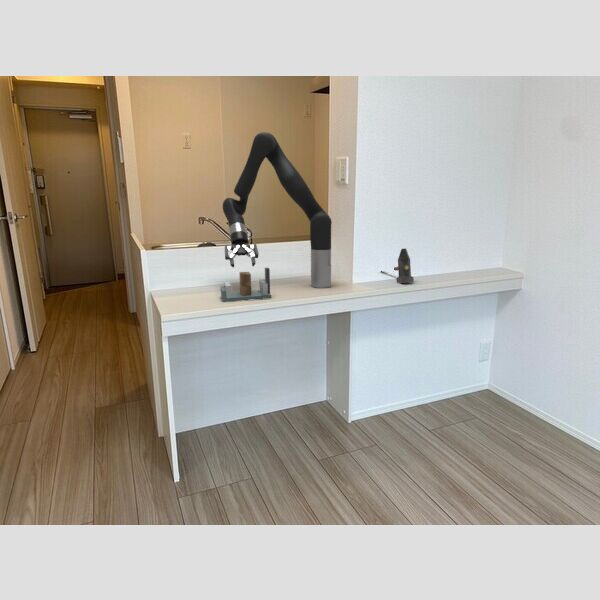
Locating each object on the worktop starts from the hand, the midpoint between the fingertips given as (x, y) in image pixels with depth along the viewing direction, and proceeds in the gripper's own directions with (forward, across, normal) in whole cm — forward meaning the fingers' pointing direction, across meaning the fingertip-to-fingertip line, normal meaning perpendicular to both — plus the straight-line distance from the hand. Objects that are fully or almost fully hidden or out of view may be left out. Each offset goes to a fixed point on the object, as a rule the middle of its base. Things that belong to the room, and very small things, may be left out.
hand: (243, 265), depth 198 cm
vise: (+13, 0, +5) cm, 14 cm away
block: (+12, 0, +4) cm, 12 cm away
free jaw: (+12, +8, +4) cm, 15 cm away
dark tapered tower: (0, +76, +19) cm, 78 cm away
